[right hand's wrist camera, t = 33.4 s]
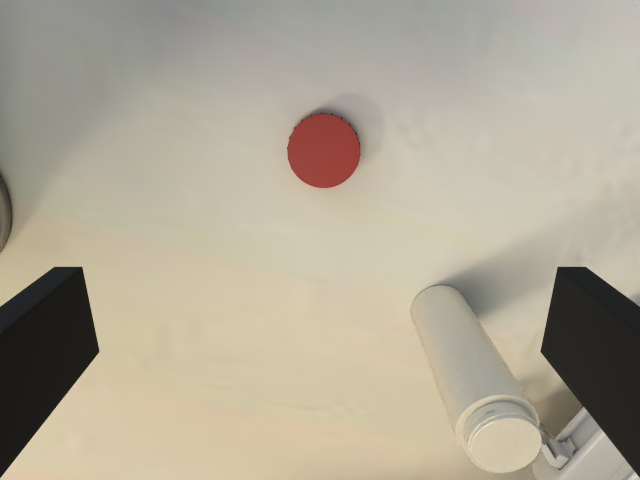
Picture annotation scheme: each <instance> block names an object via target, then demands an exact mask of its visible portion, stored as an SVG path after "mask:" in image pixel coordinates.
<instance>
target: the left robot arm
mask: <svg viewBox="0 0 640 480" xmlns="http://www.w3.org/2000/svg"><path fill="white" fill-rule="evenodd" d="M539 429H540V431H541V432H540V433H541V438H542V445H541V451H542V454H541V455H540V456H539V457H538V458H537V459H536V460H535V461H534V463H533V464H532V467H531V468H532V472H533V475H534V478H535V480H640V478H639V476H638V475H637V474H636V473H635V471H634V470H633V469H632V467H631V466H630V465H629V464H628V462H627V461H626V460H625V459H624V457H623V456H622V455H621V453H620V452H619V451H618V450H617V448H616V447H615V446H614V445H613V443H612V442H611V441H610V439H609V438H608V437H607V436H606V434H605V433H604V432H603V431H602V429H601V428H600V427H599V425H598V424H597V423H596V422H595V420H594V419H593V418H592V417H591V415H590V414H589V413H588V411H587V410H586V409H585V408H584V407H583V408H582V409H581V410H580V411H579V412H578V413H577V415H576V416H575V417H574V418H573V419H572V420H571V421H570V422H569V424H568V425H567V426H566V427H565V428H564V429H563V430H562V431H561V433H560V434H559V435H558V436H557V437H556V438H555V439H552V438H551V437H550V436H549V434H548V432H546V431H545V427H544V426H543V424H542V423H540V422H539Z"/></svg>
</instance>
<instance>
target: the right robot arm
mask: <svg viewBox="0 0 640 480" xmlns="http://www.w3.org/2000/svg"><path fill="white" fill-rule="evenodd" d="M10 225H11V208H10V202H9V198H8V194H7V191H6V188H5V185H4V183H3V181H2V179H1V177H0V251H1V250H2V248H3V247H4V245H5V243H6V240H7V238H8V235H9V231H10ZM98 353H99V347H98V342H97V337H96V332H95V328H94V323H93V318H92V313H91V308H90V303H89V298H88V293H87V288H86V283H85V278H84V273H83V268H82V267H54V268H52V269H51V270H50V271H48V272H47V273H46V274H44V275H43V276H41V277H40V278H39V279H37V280H36V281H35V282H33V283H32V284H31V285H29V286H28V287H27V288H25V289H24V290H23V291H21V292H20V293H18V294H17V295H16V296H14V297H13V298H12V299H10V300H9V301H8V302H6V303H5V304H4V305H2V306H1V307H0V478H1V476H2V475H3V474H4V473H5V471H6V470H7V469H8V467H9V466H10V465H11V464H12V462H13V461H14V460H15V459H16V457H17V456H18V455H19V453H20V452H21V451H22V450H23V448H24V447H25V446H26V445H27V443H28V442H29V441H30V439H31V438H32V437H33V436H34V434H35V433H36V432H37V431H38V429H39V428H40V427H41V425H42V424H43V423H44V422H45V420H46V419H47V418H48V417H49V415H50V414H51V413H52V411H53V410H54V409H55V408H56V406H57V405H58V404H59V403H60V401H61V400H62V399H63V397H64V396H65V395H66V394H67V392H68V391H69V390H70V389H71V387H72V386H73V385H74V383H75V382H76V381H77V380H78V378H79V377H80V376H81V375H82V373H83V372H84V371H85V369H86V368H87V367H88V366H89V364H90V363H91V362H92V361H93V359H94V358H95V357H96V355H97V354H98ZM541 353H542V354H543V355H544V357H545V358H546V359H547V361H548V362H549V363H550V364H551V366H552V367H553V368H554V369H555V371H556V372H557V373H558V375H559V376H560V377H561V378H562V380H563V381H564V382H565V383H566V385H567V386H568V387H569V389H570V390H571V391H572V392H573V394H574V395H575V396H576V397H577V399H578V400H579V401H580V403H581V404H582V405H583V406H584V408H585V409H586V410H587V411H588V413H589V414H590V415H591V417H592V418H593V419H594V420H595V422H596V423H597V424H598V425H599V427H600V428H601V429H602V431H603V432H604V433H605V434H606V436H607V437H608V438H609V439H610V441H611V442H612V443H613V445H614V446H615V447H616V448H617V450H618V451H619V452H620V453H621V455H622V456H623V457H624V459H625V460H626V461H627V462H628V464H629V465H630V466H631V467H632V469H633V470H634V471H635V473H636V474H637V475H638V476H639V478H640V307H639V306H638V305H636V304H635V303H634V302H632V301H631V300H630V299H628V298H627V297H626V296H624V295H623V294H622V293H620V292H619V291H617V290H616V289H615V288H613V287H612V286H611V285H609V284H608V283H607V282H605V281H604V280H603V279H601V278H600V277H599V276H597V275H596V274H594V273H593V272H592V271H590V270H589V269H588V268H586V267H558V268H557V273H556V278H555V283H554V288H553V293H552V298H551V303H550V308H549V313H548V318H547V323H546V328H545V332H544V337H543V342H542V347H541Z"/></svg>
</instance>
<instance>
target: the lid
mask: <svg viewBox="0 0 640 480" xmlns="http://www.w3.org/2000/svg"><path fill="white" fill-rule="evenodd" d="M356 135H357V134H356V132H354V130H353V129H352V127H351V125H350V123H349V124H348V123H347V122H346V121H345V120H344V119H343V118H342V117H341V118H340V117H338V116H336V115H333V113H331V114H327V113H322V112H321V114H315V115H311V116H309V117H307V118H306V119H304V120H303V119H302V121H301V122H300V123H299V124H298V125H297V127H295V128H294V131H293V133H292V135H291V136H290V137H289V139H290V140H289V144H288V147H287V149H288V160H289V163H290V166H291V168H292V170H293V171H294V173H295V174H296V175H297V176H298V177H299V178H300V179H301V180H302V181H303V182H305V183H307V184H309V185H311V186H314V187H319V188H328V187H333V186H336V185H339V184H341V183H343V182H344V181H345V180H347V179H348V178H349V177H350V176H351V175H352V174H353V172H354V171H355V169H356V167H357V165H358V162H359V157H360V143H359V141H358V138H357V136H356Z"/></svg>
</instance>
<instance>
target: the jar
mask: <svg viewBox="0 0 640 480" xmlns="http://www.w3.org/2000/svg"><path fill="white" fill-rule="evenodd" d="M411 318H412V321H413V323H414V326H415V329H416V332H417V334H418V337H419V340H420V342H421V345H422V348H423V351H424V353H425V356H426V359H427V361H428V364H429V367H430V369H431V372H432V375H433V378H434V380H435V383H436V386H437V388H438V391H439V394H440V396H441V399H442V402H443V405H444V407H445V410H446V413H447V415H448V418H449V421H450V423H451V426H452V429H453V432H454V434H455V437H456V440H457V442H458V444H459V446H460V447H461V448H462V449H463V450H464V451H465V452H466V453H467V454H469V456H470V458H471V460H472V461H473V462H474V463H475V464H476V465H477V466H478V467H479V468H481V469H483V470H485V471H488V472H493V473H494V472H495V473H507V472H513V471H516V470H519V469H521V468H523V467H525V466H527V465H528V464H529V463H531V462H532V461H533V460H534V459H535V458H536V456H537V455H538V453H539V451H540V449H541V445H542V438H541V433H540V432H541V431H540V429H539V417H538V414H537V412H536V410H535V408H534V406H533V405H532V403H531V402H530V400H529V399H528V397H527V395H526V394H525V392H524V391H523V389H522V388H521V386H520V384H519V383H518V381H517V380H516V378H515V377H514V375H513V373H512V372H511V370H510V369H509V367H508V366H507V364H506V362H505V361H504V359H503V358H502V356H501V355H500V353H499V351H498V350H497V348H496V347H495V345H494V344H493V342H492V340H491V339H490V337H489V336H488V334H487V333H486V331H485V329H484V328H483V326H482V325H481V323H480V322H479V320H478V318H477V317H476V315H475V314H474V312H473V311H472V309H471V307H470V306H469V304H468V303H467V301H466V300H465V298H464V296H463V295H462V294H461V293H460V292H459V291H458V290H456V289H455V288H453V287H450V286H445V285H437V286H432V287H429V288H427V289H425V290H424V291H422V292H421V293H420V294H419V295H418V296H417V297H416V298H415V299H414V301H413V303H412V306H411Z"/></svg>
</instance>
